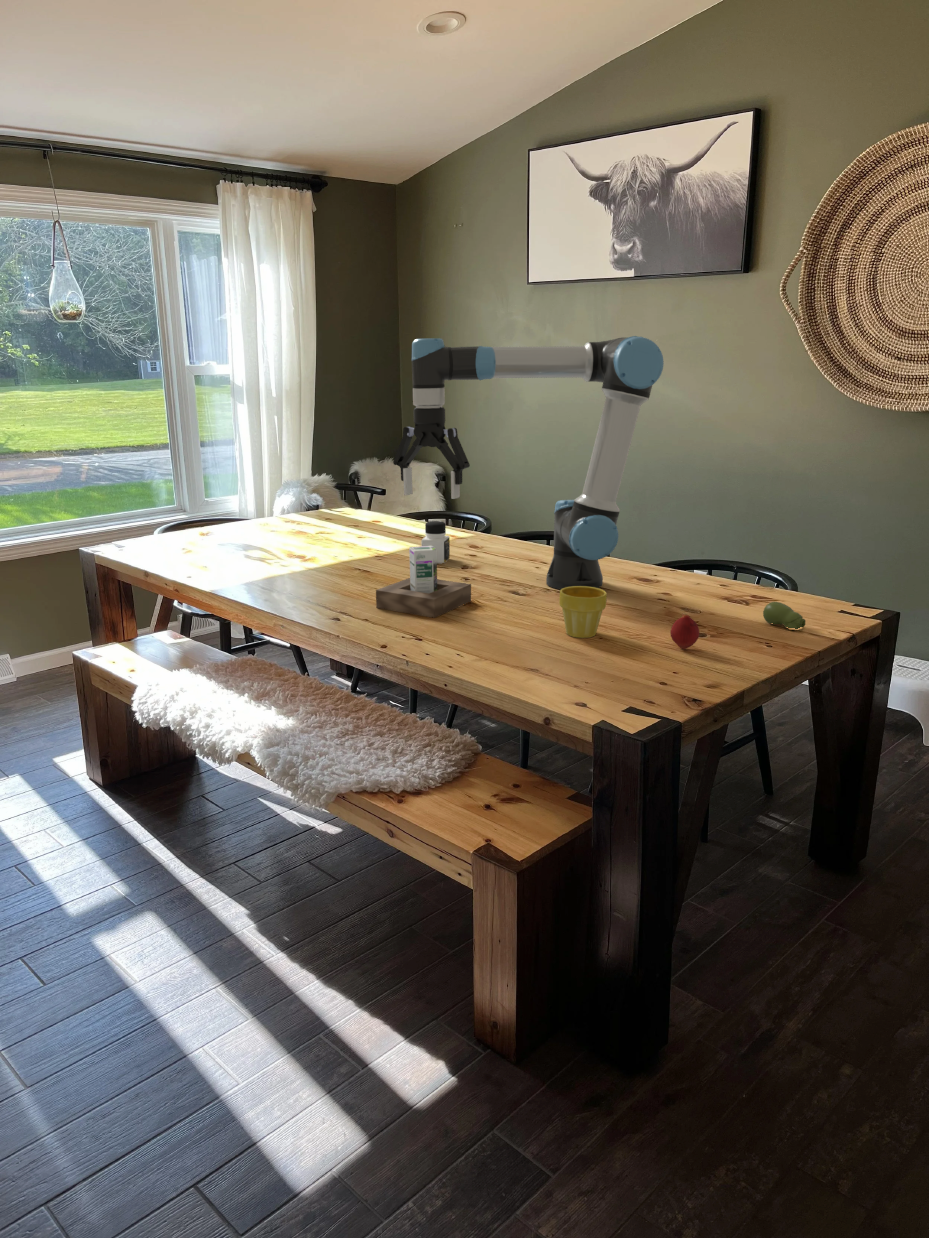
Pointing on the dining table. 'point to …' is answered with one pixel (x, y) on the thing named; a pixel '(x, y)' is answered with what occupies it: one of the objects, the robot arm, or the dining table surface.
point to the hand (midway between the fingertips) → (431, 496)
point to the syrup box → (423, 569)
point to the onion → (684, 631)
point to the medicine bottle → (437, 539)
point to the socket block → (423, 598)
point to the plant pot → (582, 609)
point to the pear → (783, 615)
